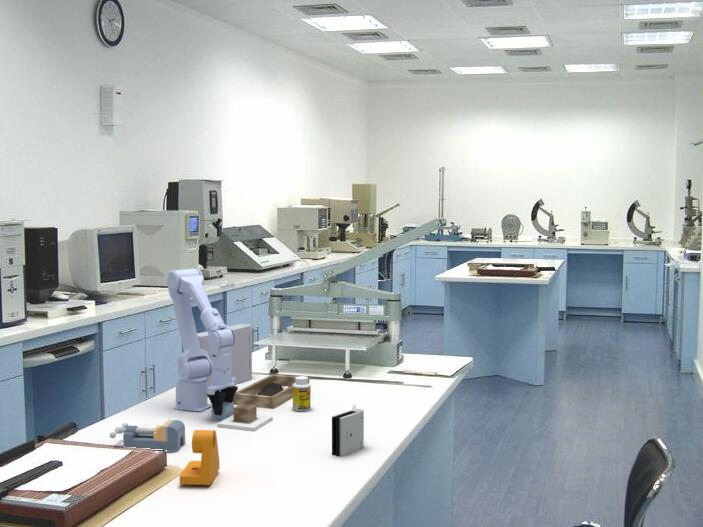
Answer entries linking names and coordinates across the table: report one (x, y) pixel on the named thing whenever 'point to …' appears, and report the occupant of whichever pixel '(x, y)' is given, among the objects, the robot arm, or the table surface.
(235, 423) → the board
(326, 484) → the table surface
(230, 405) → the blue block
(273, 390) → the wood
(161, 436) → the vise
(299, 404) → the supplement bottle
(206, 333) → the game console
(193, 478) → the bracket
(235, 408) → the walnut block
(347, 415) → the hinge
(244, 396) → the plank frame
